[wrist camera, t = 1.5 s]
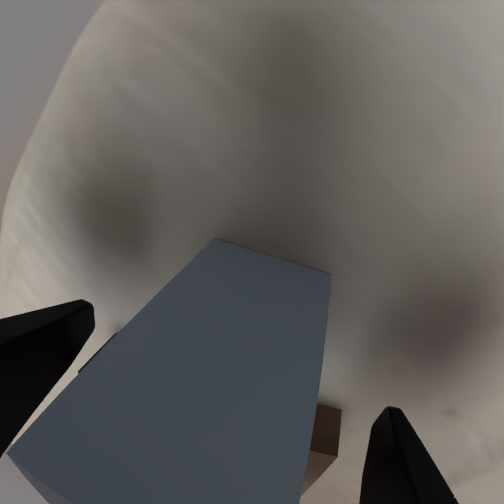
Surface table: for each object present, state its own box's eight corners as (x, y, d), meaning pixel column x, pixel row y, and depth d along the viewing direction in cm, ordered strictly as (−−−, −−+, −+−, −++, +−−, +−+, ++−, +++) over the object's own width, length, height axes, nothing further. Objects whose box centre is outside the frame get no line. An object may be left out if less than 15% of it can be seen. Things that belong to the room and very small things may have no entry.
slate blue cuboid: (295, 362, 12) (228, 591, 4) (199, 330, 13) (68, 522, 4) (330, 274, 10) (278, 582, 2) (214, 238, 11) (6, 453, 3)
